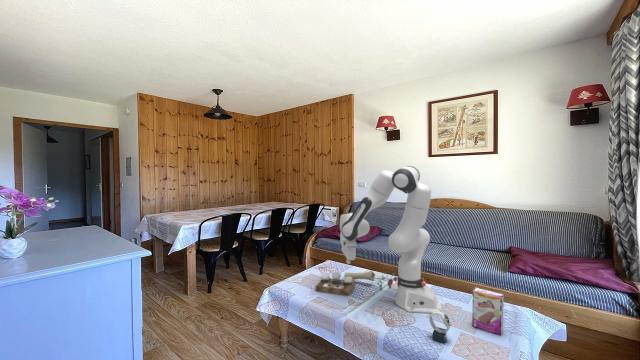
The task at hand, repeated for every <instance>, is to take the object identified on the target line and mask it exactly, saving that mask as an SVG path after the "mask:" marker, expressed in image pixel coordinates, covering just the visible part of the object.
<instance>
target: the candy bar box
mask: <svg viewBox="0 0 640 360" xmlns="http://www.w3.org/2000/svg"><path fill="white" fill-rule="evenodd" d="M504 297H505V295H504V294H502V293H499V292H494V291H491V290H487V289H484V288H480V287H474V289H473V290H472V316H471V317H472V318H471V321H472V322H471V325H472V327H473V328H476V329H480V330H483V331H486V332H488V333H489V332H490V333H491V334H495V335H497V336H502V333H503V332H504V304H505V302H504V301H505V299H504Z"/></svg>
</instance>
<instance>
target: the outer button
mask: <svg viewBox="0 0 640 360" xmlns="http://www.w3.org/2000/svg"><path fill="white" fill-rule="evenodd" d="M320 276H321V280H329V279H330V274H328V273H321V275H320Z"/></svg>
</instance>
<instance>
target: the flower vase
mask: <svg viewBox="0 0 640 360" xmlns="http://www.w3.org/2000/svg"><path fill="white" fill-rule="evenodd" d="M389 272H390V271H389V269H388V271H387V273H388V274H385V272H383V273H382V275H381V277H376V273H375V272H373V270H370V271H367V272H360V273H359V272H344V274H343V275H344V276H343V278H344V277H346V276H350V277H352V281H355V280H368V281H373V282H374V281H375V279H376V280H377V281H378V282H377V283H376V285H378V286H379V288H380V292H382V290H383V281H386V282H387V283H386V284H387V285H386V286H387V287H388V289H389V290H390V289H391V288H392V286H393V284H394V283H396V282H397V278H398V276H396V275H395V272H396V271H395V272H392V273H391V276H390V278H389V279H386V278H387V277H388V275H389ZM394 275H395V276H394ZM393 276H394V277H393ZM391 277H393V278H391Z"/></svg>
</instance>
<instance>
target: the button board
mask: <svg viewBox="0 0 640 360" xmlns="http://www.w3.org/2000/svg"><path fill="white" fill-rule="evenodd" d="M355 284H356V282H355V280H352V282H351V283H345V282H344V279H341V278H340V279H333V278H330V279H329V280H322V279H321V280H319V282H318V283H317V284H316V286H315V292H320V293H324V294H325V293H326V294H332V295H340V296H346V297H350V295H351V294H352V292H353V291H354V288H355V287H356V285H355Z"/></svg>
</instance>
